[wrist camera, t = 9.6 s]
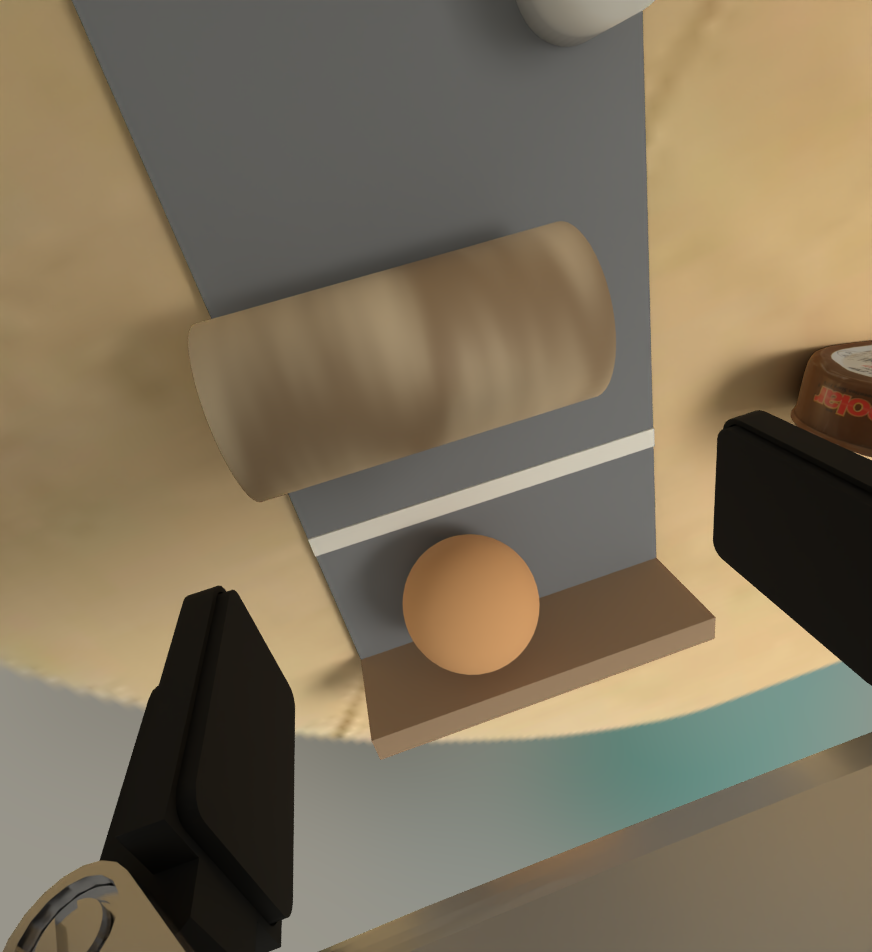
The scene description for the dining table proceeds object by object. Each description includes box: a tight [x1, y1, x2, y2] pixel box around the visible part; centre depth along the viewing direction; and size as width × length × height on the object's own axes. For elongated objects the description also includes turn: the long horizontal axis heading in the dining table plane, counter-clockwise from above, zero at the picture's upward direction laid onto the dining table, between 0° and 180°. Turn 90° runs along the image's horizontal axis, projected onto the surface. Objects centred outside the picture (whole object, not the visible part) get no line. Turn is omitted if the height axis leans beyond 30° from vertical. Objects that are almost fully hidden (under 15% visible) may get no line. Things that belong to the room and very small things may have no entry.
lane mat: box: [72, 0, 716, 759], centre depth 17 cm, size 24×14×4 cm, turn 13°
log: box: [188, 221, 616, 502], centre depth 15 cm, size 5×10×5 cm, turn 103°
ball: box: [403, 534, 540, 675], centre depth 20 cm, size 5×5×5 cm
